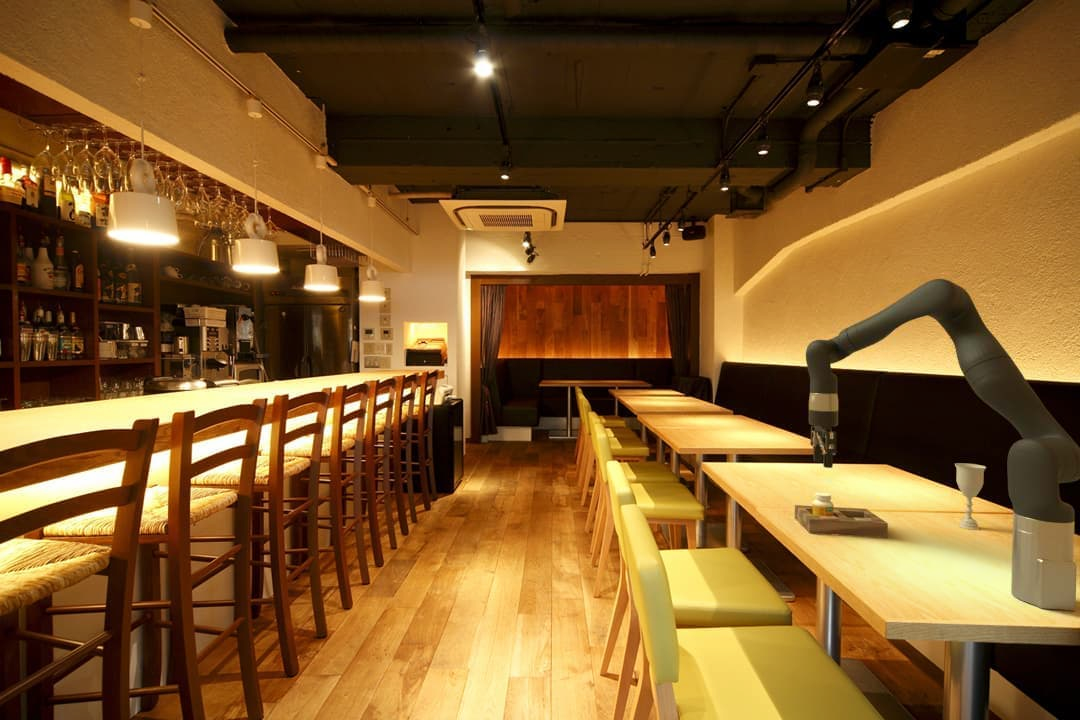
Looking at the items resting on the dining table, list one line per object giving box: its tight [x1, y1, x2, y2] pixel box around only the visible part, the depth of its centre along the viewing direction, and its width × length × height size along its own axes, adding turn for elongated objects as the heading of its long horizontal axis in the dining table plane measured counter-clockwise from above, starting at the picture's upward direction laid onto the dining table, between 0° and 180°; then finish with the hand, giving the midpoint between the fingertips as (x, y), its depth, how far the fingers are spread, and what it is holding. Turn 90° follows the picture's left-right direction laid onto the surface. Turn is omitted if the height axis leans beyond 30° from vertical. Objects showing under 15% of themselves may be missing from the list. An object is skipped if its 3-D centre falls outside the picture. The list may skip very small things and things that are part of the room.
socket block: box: [794, 504, 889, 539], centre depth 157 cm, size 14×20×4 cm
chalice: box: [954, 462, 987, 531], centre depth 158 cm, size 7×7×18 cm
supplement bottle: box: [812, 492, 834, 516], centre depth 157 cm, size 5×5×10 cm
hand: (822, 464), depth 157 cm, fingers open, 8 cm apart
